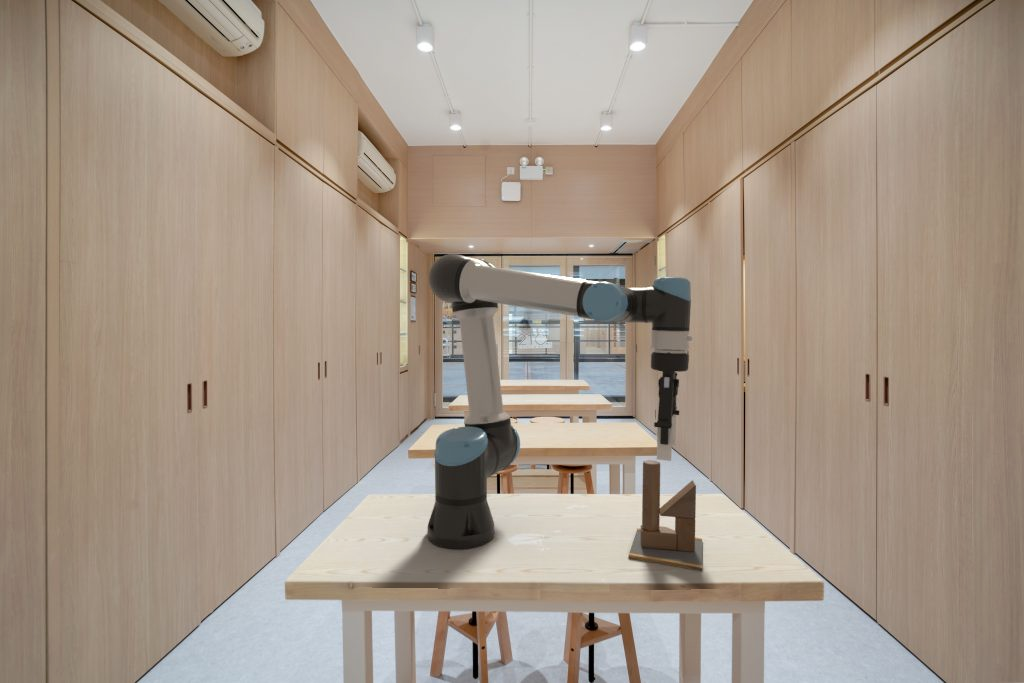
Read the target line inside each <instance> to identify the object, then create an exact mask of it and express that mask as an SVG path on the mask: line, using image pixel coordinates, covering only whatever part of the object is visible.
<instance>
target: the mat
mask: <svg viewBox="0 0 1024 683" xmlns="http://www.w3.org/2000/svg"><path fill="white" fill-rule="evenodd" d="M628 559H632V560H638V561H643V562H644V561H645V562H648V563H649V562H650V563H654V564H661V565H666V566H672V567H678V568H683V569H689V570H695V571H700V572H702V570H703V569H702V568H703V537H697V536H695V551H694V552H686V551H678V550H666V549H655V548H644V547H642V546H641V527H640V528H636V531H635V535H634V537H633V541H632V543H631V546H630V550H629V552H628Z"/></svg>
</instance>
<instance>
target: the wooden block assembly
mask: <svg viewBox="0 0 1024 683" xmlns="http://www.w3.org/2000/svg"><path fill="white" fill-rule="evenodd" d="M696 493H697V485H696V483H695V481H694V480H690V482H688V483H687V484H686V485H685V486H683V487H682V488H681V490H679V491H678V492H677V493H675V495H673V496H672V497H671V498H670V499H669V500H668V501H666V502H665V503H664V504H663V505H662V506H661V505H660V504H661V462H660V461H657V460H653V459H652V460H651V459H649V460H643V462H642V495H641V496H642V501H641V503H642V504H641V506H642V508H641V509H642V510H641V511H642V512H641V525H640V529H641V546H642V547H644V548H655V549H666V550H678V551H686V552H694V551H695V537H696V513H697V512H696V509H697V508H696V507H697V506H696V504H697V503H696V501H697V499H696V498H697V494H696ZM660 506H661V507H660ZM660 516H661V517H671V518H674V529H672V528H669V527H667V526H660V521H661V520H660V518H661V517H660Z"/></svg>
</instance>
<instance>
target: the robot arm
mask: <svg viewBox="0 0 1024 683" xmlns="http://www.w3.org/2000/svg"><path fill="white" fill-rule="evenodd" d="M428 283H429V287H430V289H431V292H432V293H433V295H435V297H437V298H438V299H439V300H441V301H443V302H446V303H449V304H451V309H452V315H453V316H454V317H456V318H457V320H459V327H460V328H459V329H460V338H461V347H462V348H461V349H462V357H463V366H464V375H465V376H464V377H465V385H466V392H467V393H466V395H467V403H468V412H469V414H468V416H467V417H466V418H465V420H463V421H464V422H463V423H464V426H459V427H458V428H454V427H453V428H450V429H448V430H444V431H442V432H441V433H440V434H439V435H438V437H437V438H436V440H435V448H434V449H435V450H434V460H435V461H434V463H435V466H434V467H435V468H434V474H435V475H434V476H435V477H434V478H435V479H434V480H435V482H434V483H435V486H434V488H435V490H434V491H435V494H434V495H435V500H434V505H433V508H432V511H431V514H430V517H429V519H428V520H429V521H428V524H427V540H428V541H429V542H431V543H432V544H434V545H436V546H438V547H441V548H445V549H454V550H455V549H456V550H457V549H459V550H463V549H470V548H475V547H479V546H482V545H484V544H487V543H488V542H490V541H491V540H492V539H493V538H494V537H495V521H494V518H493V516H492V511H491V509H490V506H489V502H488V492H487V491H488V486H487V485H488V478H490V477H492V476H493V475H495V474H497V473H499V472H502V471H504V470H506V469H507V468H508V467H509V466H511V464H513V462H515V460H516V459H517V457H518V456H519V452H520V450H521V440H520V435H519V433H518V431H517V429H515V428H514V426H513V425H512V422H511V415H509V414H508V413H507V412H505V410H504V404H503V396H502V387H501V379H500V369H499V368H500V366H499V359H498V347H497V341H496V332H495V331H496V330H495V323H494V316H495V314H496V313H497V312H498V311H499V305H498V304H502V305H506V306H513V307H519V308H525V309H531V310H537V311H542V312H547V313H548V312H549V313H552V314H553V313H555V314H560V315H566V316H572V317H578V318H583V319H587V320H593V321H595V322H599V323H606V324H607V323H608V324H611V323H612V324H616V323H631V324H632V323H645V324H651V344H650V345H651V346H650V349H651V350H653V351H651V352H652V353H650V355H651V356H650V368H651V369H652V370H653V371H661V372H662V376H660V377H659V379H658V383H657V385H658V398H659V399H658V410H657V411H658V412H657V421H656V422H654V423H653V427H654V428H657V435H656V436H657V438H656V439H657V442H656V444H657V445H656V460H659V461H661V460H662V461H666V462H667V461H669V462H671V461H672V449H673V448H672V447H673V446H675V445H676V432H677V431H676V430H677V429H676V426H677V425H676V424H677V416H680V410H677V409H678V407H677V396H678V393H679V387H680V378H677V377H678V373H679V372H681V373H682V372H687V371H688V370H689V356H690V355H689V354H688V353H687V352H686V351H688V350H689V347H690V343H689V341H690V342H691V341H693V337H692V336H690V330H691V329H690V326H691V325H690V324H691V310H692V309H691V306H692V305H691V304H692V299H691V294H692V293H691V289H692V288H691V282H690V280H689V279H687V278H685V277H682V276H681V277H680V276H678V277H676V276H669V277H668V276H666V277H656V278H655V279H654V280H653V284H652V286H649V287H624V286H622V285H618V284H617V283H615V282H611V281H596V280H587V279H582V278H573V277H567V276H560V275H553V274H552V275H551V274H544V273H539V272H530V271H523V270H517V269H510V268H509V269H508V268H501V267H495V265H493V264H492V263H489V262H487V261H486V260H483V259H480V258H473V257H469V256H465V255H462V254H457V253H449V254H445V255H443V256H441V257H439V258H438V259H436V260H435V261H434V263H433V264H432V265H431V267H430V270H429V272H428ZM677 372H678V373H677Z"/></svg>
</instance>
